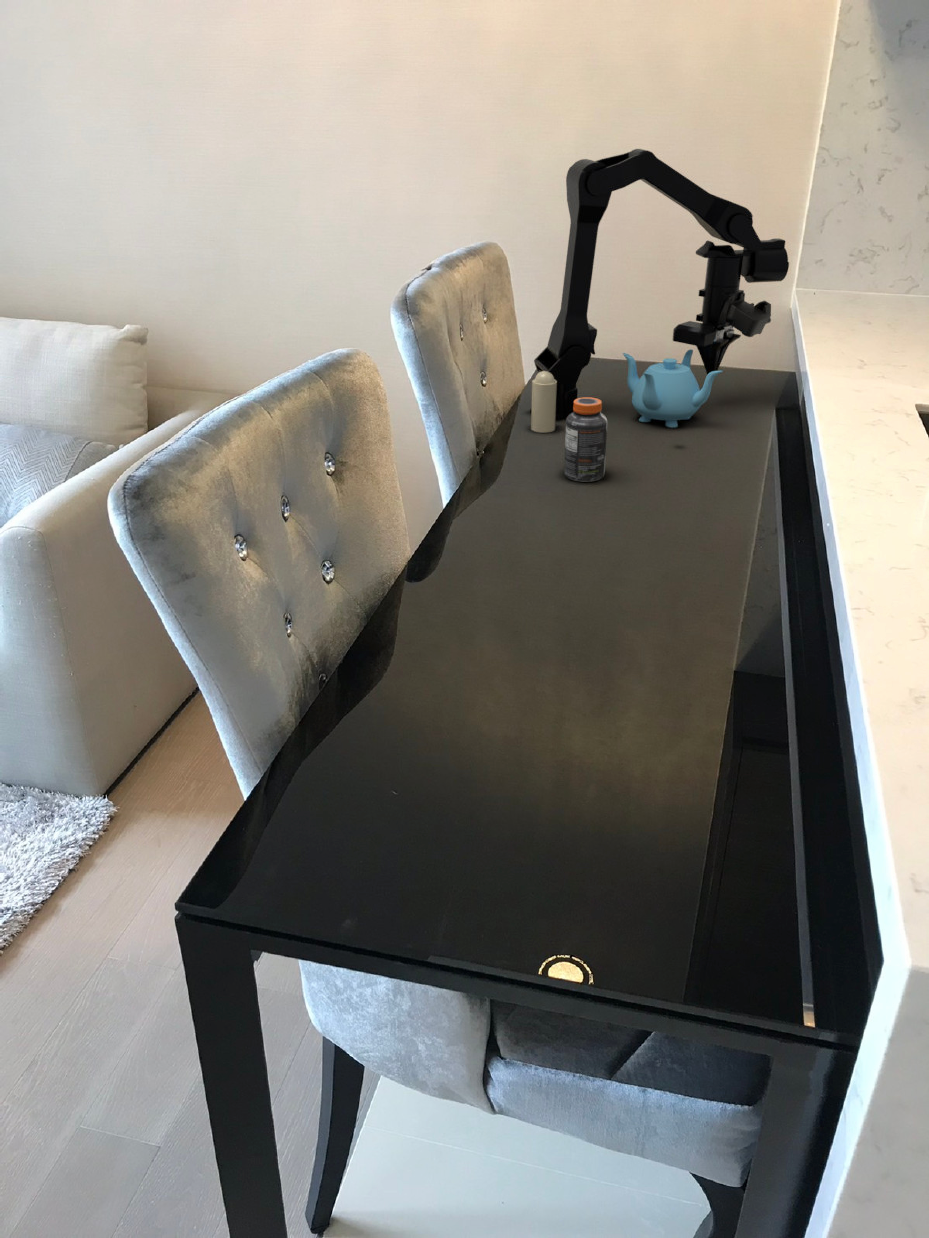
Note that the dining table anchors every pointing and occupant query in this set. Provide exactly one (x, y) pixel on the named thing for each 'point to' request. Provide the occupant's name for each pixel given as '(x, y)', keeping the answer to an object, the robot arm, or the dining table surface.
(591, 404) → the pill bottle
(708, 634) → the dining table surface
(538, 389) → the salt shaker
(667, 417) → the teapot
